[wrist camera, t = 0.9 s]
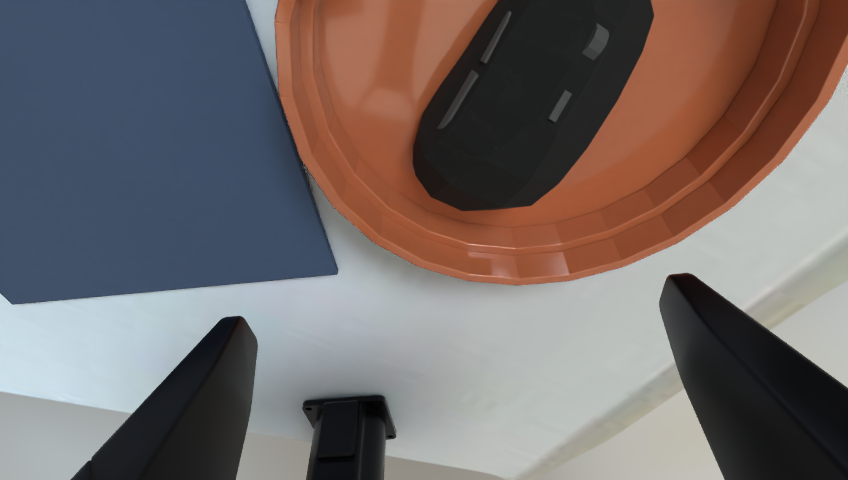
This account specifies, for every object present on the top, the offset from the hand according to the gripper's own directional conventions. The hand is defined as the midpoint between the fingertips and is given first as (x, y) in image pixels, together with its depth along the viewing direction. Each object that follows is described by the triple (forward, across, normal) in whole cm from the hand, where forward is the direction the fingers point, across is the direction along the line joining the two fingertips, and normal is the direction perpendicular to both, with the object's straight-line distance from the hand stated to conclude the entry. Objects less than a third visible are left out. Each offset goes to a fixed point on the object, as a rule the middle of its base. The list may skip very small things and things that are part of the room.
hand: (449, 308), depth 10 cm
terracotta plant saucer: (+13, -4, 0) cm, 14 cm away
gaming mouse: (+13, -4, 0) cm, 13 cm away
